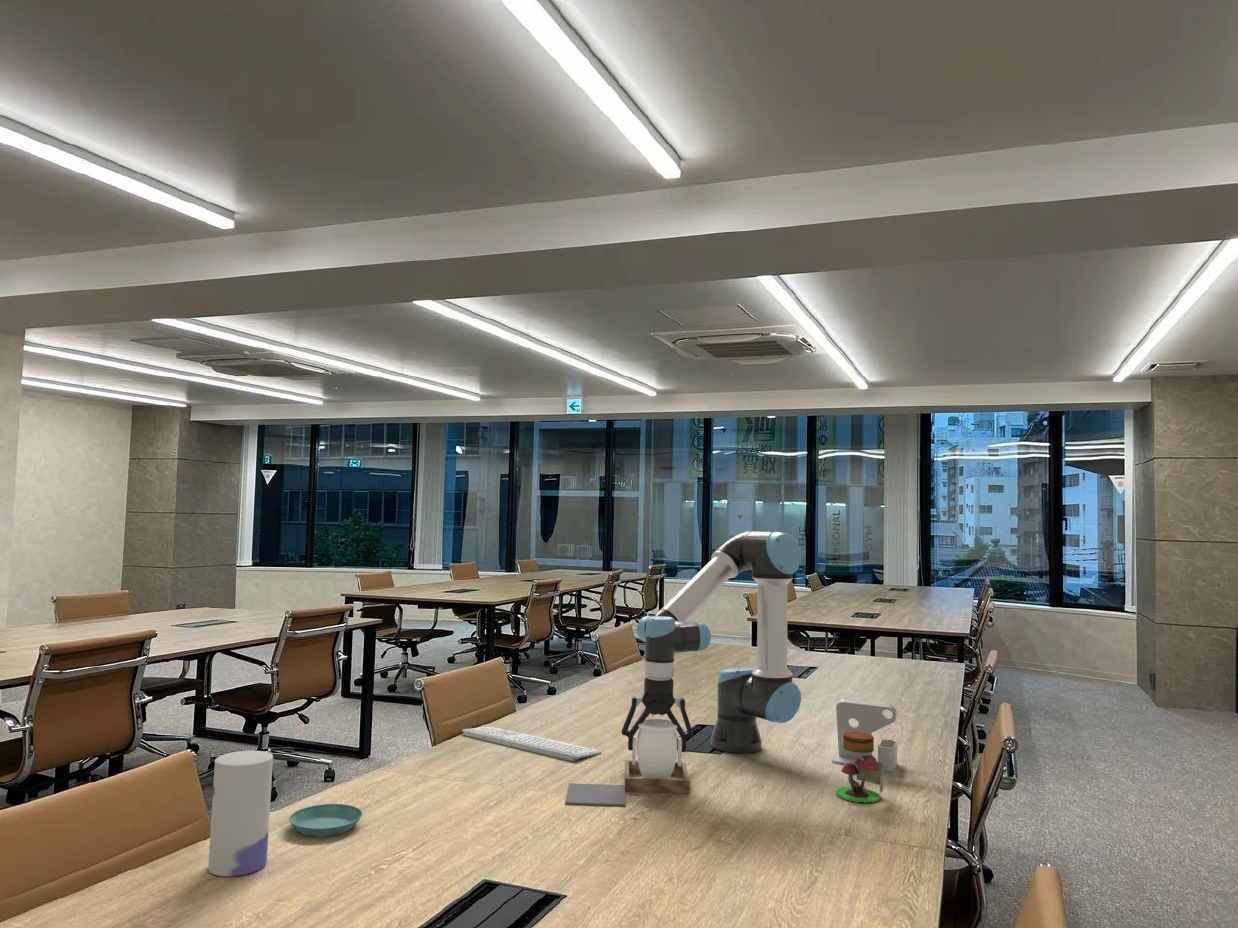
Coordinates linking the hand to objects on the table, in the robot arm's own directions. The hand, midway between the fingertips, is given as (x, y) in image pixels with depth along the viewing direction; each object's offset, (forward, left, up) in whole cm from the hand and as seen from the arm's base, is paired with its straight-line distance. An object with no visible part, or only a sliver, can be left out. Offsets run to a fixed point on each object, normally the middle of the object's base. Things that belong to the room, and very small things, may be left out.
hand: (656, 763), depth 215 cm
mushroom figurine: (-51, +6, -5) cm, 51 cm away
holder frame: (0, 0, -5) cm, 5 cm away
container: (+80, +59, -5) cm, 100 cm away
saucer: (+71, +38, -5) cm, 81 cm away
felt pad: (+15, +12, -5) cm, 20 cm away
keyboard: (+36, -33, -5) cm, 49 cm away
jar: (0, 0, -5) cm, 5 cm away
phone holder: (-61, -24, -5) cm, 65 cm away
